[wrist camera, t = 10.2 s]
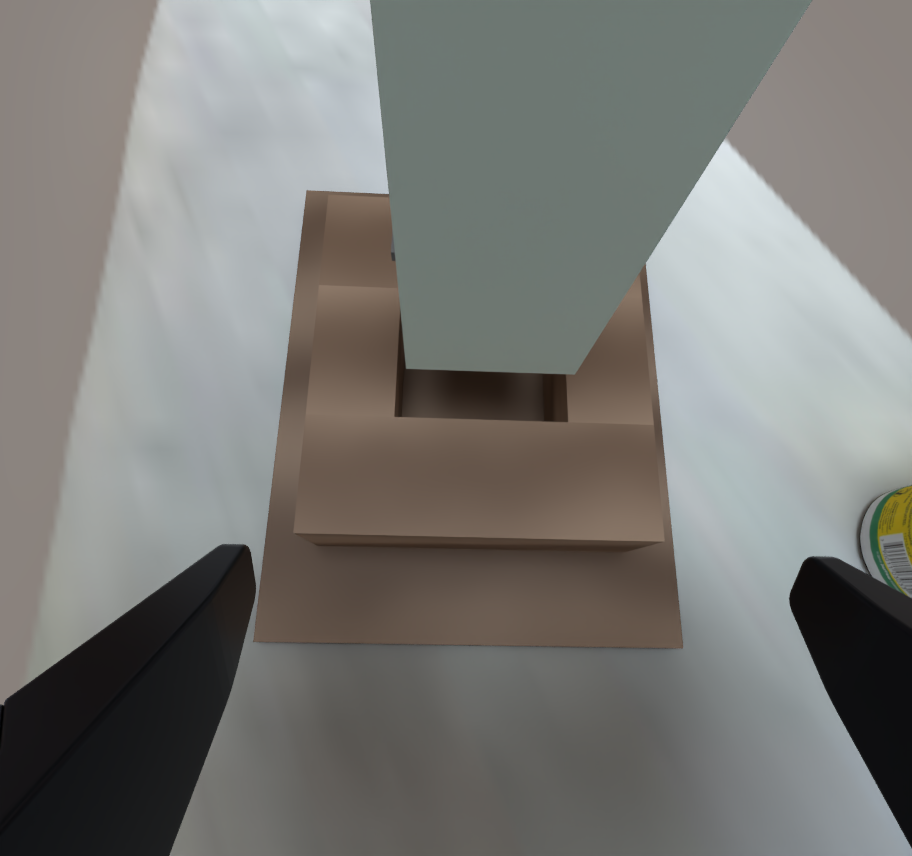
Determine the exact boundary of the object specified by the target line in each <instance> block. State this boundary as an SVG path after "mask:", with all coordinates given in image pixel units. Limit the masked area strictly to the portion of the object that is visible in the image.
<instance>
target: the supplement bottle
mask: <svg viewBox="0 0 912 856" xmlns="http://www.w3.org/2000/svg"><path fill="white" fill-rule="evenodd" d="M860 541H861V548H862V553H863V557H864V560H865V563H866V565H867V567H868V570H869V572H870V573H871V575H872V577H873V578H875V579H877V580H879V581H881V582H883V583H884V584H886V585H888V586H890V587H892V588H894V589H896V590H897V591H899V592H901V593H903V594H905V595H907V596H909V597H910V598H912V485H910V486H907V487H904V488H900V489H896V490H893V491H890V492H887V493H885V494H884V495H882V496H880V497H879V498H878V499H876V500H875V501H874V502H873V503H872V504H871V506H870V507H869V509H868V511H867V512H866V515H865V517H864V520H863V523H862V528H861V534H860Z"/></svg>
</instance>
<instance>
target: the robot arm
mask: <svg viewBox="0 0 912 856" xmlns="http://www.w3.org/2000/svg"><path fill="white" fill-rule="evenodd" d="M255 594H256V582H255V576H254V570H253V563H252V557H251V552H250V549H249V547H248V546H246V545H244V544H222V545H220V546H218V547H216V548H215V549H214V550H212V551H211V552H209V553H208V554H207V555H205V556H204V557H203V558H201V559H200V560H198V561H197V562H196V563H194V564H193V565H191V566H190V567H189V568H187V569H186V570H185V571H183V572H182V573H180V574H179V575H178V576H176V577H175V578H173V579H172V580H171V581H169V582H168V583H166V584H165V585H164V586H162V587H161V588H160V589H158V590H157V591H155V592H154V593H153V594H151V595H150V596H148V597H147V598H146V599H144V600H143V601H142V602H140V603H139V604H137V605H136V606H135V607H133V608H132V609H130V610H129V611H128V612H126V613H125V614H124V615H122V616H121V617H119V618H118V619H117V620H115V621H114V622H112V623H111V624H110V625H108V626H107V627H106V628H104V629H103V630H101V631H100V632H99V633H97V634H96V635H94V636H93V637H92V638H90V639H89V640H88V641H86V642H85V643H83V644H82V645H81V646H79V647H78V648H76V649H75V650H74V651H72V652H71V653H70V654H68V655H67V656H65V657H64V658H63V659H61V660H60V661H58V662H57V663H56V664H54V665H53V666H52V667H50V668H49V669H47V670H46V671H45V672H43V673H42V674H40V675H39V676H38V677H36V678H35V679H34V680H32V681H31V682H29V683H28V684H27V685H25V686H24V687H22V688H21V689H20V690H18V691H17V692H16V693H14V694H13V695H11V696H10V697H9V698H7V699H6V700H5V702H4V705H0V856H169V855H170V852H171V849H172V847H173V844H174V841H175V839H176V836H177V833H178V831H179V828H180V825H181V823H182V820H183V818H184V815H185V812H186V810H187V807H188V804H189V802H190V799H191V796H192V794H193V791H194V788H195V786H196V783H197V781H198V778H199V775H200V773H201V770H202V767H203V765H204V762H205V759H206V757H207V754H208V751H209V749H210V746H211V743H212V741H213V738H214V736H215V733H216V730H217V728H218V725H219V722H220V720H221V717H222V714H223V712H224V709H225V706H226V704H227V701H228V698H229V695H230V692H231V689H232V685H233V682H234V678H235V675H236V671H237V667H238V663H239V659H240V655H241V651H242V647H243V643H244V639H245V635H246V631H247V628H248V624H249V620H250V616H251V612H252V608H253V604H254V600H255ZM789 601H790V607H791V610H792V613H793V615H794V617H795V620H796V622H797V624H798V627H799V629H800V631H801V634H802V636H803V638H804V641H805V643H806V645H807V647H808V650H809V652H810V654H811V657H812V659H813V661H814V664H815V666H816V668H817V671H818V673H819V675H820V678H821V680H822V682H823V684H824V687H825V689H826V691H827V693H828V695H829V697H830V699H831V701H832V703H833V705H834V707H835V709H836V711H837V713H838V715H839V717H840V718H841V720H842V722H843V724H844V726H845V727H846V729H847V731H848V733H849V735H850V737H851V738H852V740H853V742H854V744H855V746H856V748H857V749H858V751H859V753H860V755H861V757H862V759H863V760H864V762H865V764H866V766H867V768H868V769H869V771H870V773H871V775H872V777H873V779H874V780H875V782H876V784H877V786H878V788H879V790H880V791H881V793H882V795H883V797H884V799H885V801H886V802H887V804H888V806H889V808H890V810H891V811H892V813H893V815H894V817H895V819H896V821H897V822H898V824H899V826H900V828H901V830H902V832H903V833H904V835H905V837H906V839H907V841H908V843H909V844H910V846H911V848H912V598H910V597H909V596H907V595H905V594H903V593H901V592H899V591H897V590H896V589H894V588H892V587H890V586H888V585H886V584H884V583H883V582H881V581H879V580H877V579H875V578H873V577H871V576H870V575H868V574H866V573H864V572H862V571H860V570H858V569H857V568H855V567H853V566H851V565H849V564H847V563H845V562H844V561H842V560H840V559H838V558H835V557H821V556H812V557H808V558H807V559H806V560H805V561H804V562H803V564H802V566H801V568H800V571H799V573H798V575H797V578H796V580H795V582H794V585H793V587H792V589H791V592H790V597H789Z"/></svg>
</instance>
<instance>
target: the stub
mask: <svg viewBox="0 0 912 856" xmlns="http://www.w3.org/2000/svg"><path fill="white" fill-rule="evenodd" d="M811 2H812V0H370V4H371V15H372V25H373V35H374V45H375V56H376V66H377V76H378V86H379V96H380V107H381V117H382V127H383V137H384V148H385V158H386V168H387V178H388V188H389V199H390V209H391V219H392V244H391V257H392V261H396V270H397V281H398V291H399V301H400V311H401V321H402V332H403V342H404V352H405V362H406V369H427V370H456V371H485V372H514V373H544V374H573V375H575V374H576V372H577V370H578V369H579V367H580V366H581V364H582V363H583V361H584V359H585V358H586V356H587V355H588V353H589V351H590V350H591V348H592V347H593V345H594V344H595V342H596V340H597V339H598V337H599V336H600V334H601V333H602V331H603V329H604V328H605V326H606V325H607V323H608V322H609V320H610V318H611V317H612V315H613V314H614V312H615V311H616V309H617V307H618V306H619V304H620V303H621V301H622V299H623V298H624V296H625V295H626V293H627V292H628V290H629V288H630V287H631V285H632V284H633V282H634V281H635V279H636V277H637V276H638V274H639V273H640V271H641V270H642V268H643V266H644V265H645V263H646V262H647V260H648V259H649V257H650V255H651V254H652V252H653V251H654V249H655V247H656V246H657V244H658V243H659V241H660V240H661V238H662V236H663V235H664V233H665V232H666V230H667V229H668V227H669V225H670V224H671V222H672V221H673V219H674V218H675V216H676V214H677V213H678V211H679V210H680V208H681V207H682V205H683V203H684V202H685V200H686V199H687V197H688V195H689V194H690V192H691V191H692V189H693V188H694V186H695V184H696V183H697V181H698V180H699V178H700V177H701V175H702V173H703V172H704V170H705V169H706V167H707V166H708V164H709V162H710V161H711V159H712V158H713V156H714V155H715V153H716V151H717V150H718V148H719V147H720V145H721V143H722V142H723V140H724V139H725V137H726V136H727V134H728V132H729V131H730V129H731V128H732V126H733V125H734V123H735V121H736V120H737V118H738V117H739V115H740V113H741V112H742V110H743V109H744V107H745V105H746V104H747V103H748V101H749V99H750V98H751V96H752V94H753V93H754V91H755V90H756V88H757V87H758V85H759V84H760V82H761V80H762V79H763V77H764V76H765V74H766V73H767V71H768V69H769V68H770V66H771V65H772V63H773V61H774V60H775V58H776V57H777V55H778V54H779V52H780V51H781V49H782V47H783V46H784V44H785V42H786V41H787V39H788V38H789V36H790V35H791V33H792V32H793V30H794V28H795V27H796V25H797V24H798V22H799V21H800V19H801V17H802V16H803V14H804V12H805V11H806V10H807V8H808V6H809V5H810V3H811Z"/></svg>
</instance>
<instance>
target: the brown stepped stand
mask: <svg viewBox="0 0 912 856" xmlns="http://www.w3.org/2000/svg"><path fill="white" fill-rule="evenodd" d="M391 244H392V219H391V209H390V199H389V194H373V193H351V192H330V191H308V190H307V192H306V200H305V209H304V217H303V226H302V234H301V243H300V251H299V260H298V268H297V277H296V285H295V294H294V302H293V310H292V319H291V327H290V336H289V344H288V353H287V361H286V370H285V378H284V387H283V395H282V403H281V412H280V420H279V429H278V437H277V446H276V454H275V463H274V471H273V480H272V488H271V497H270V505H269V513H268V522H267V530H266V539H265V547H264V556H263V564H262V573H261V581H260V590H259V598H258V606H257V615H256V623H255V632H254V640H253V642H302V643H367V644H432V645H497V646H562V647H627V648H683V641H682V630H681V620H680V610H679V600H678V590H677V579H676V569H675V559H674V549H673V538H672V528H671V518H670V508H669V498H668V487H667V477H666V467H665V457H664V447H663V436H662V426H661V416H660V406H659V395H658V385H657V375H656V365H655V355H654V344H653V334H652V324H651V314H650V304H649V293H648V283H647V273H646V263H645V265H644V266H643V268H642V270H641V271H640V273H639V274H638V276H637V277H636V279H635V281H634V282H633V284H632V285H631V287H630V288H629V290H628V292H627V293H626V295H625V296H624V298H623V299H622V301H621V303H620V304H619V306H618V307H617V309H616V311H615V312H614V314H613V315H612V317H611V318H610V320H609V322H608V323H607V325H606V326H605V328H604V329H603V331H602V333H601V334H600V336H599V337H598V339H597V340H596V342H595V344H594V345H593V347H592V348H591V350H590V351H589V353H588V355H587V356H586V358H585V359H584V361H583V363H582V364H581V366H580V367H579V369H578V370H577V372H576V374H575V375H573V374H544V373H514V372H485V371H456V370H427V369H406V362H405V352H404V342H403V332H402V321H401V311H400V301H399V291H398V281H397V270H396V261H392V257H391Z"/></svg>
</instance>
